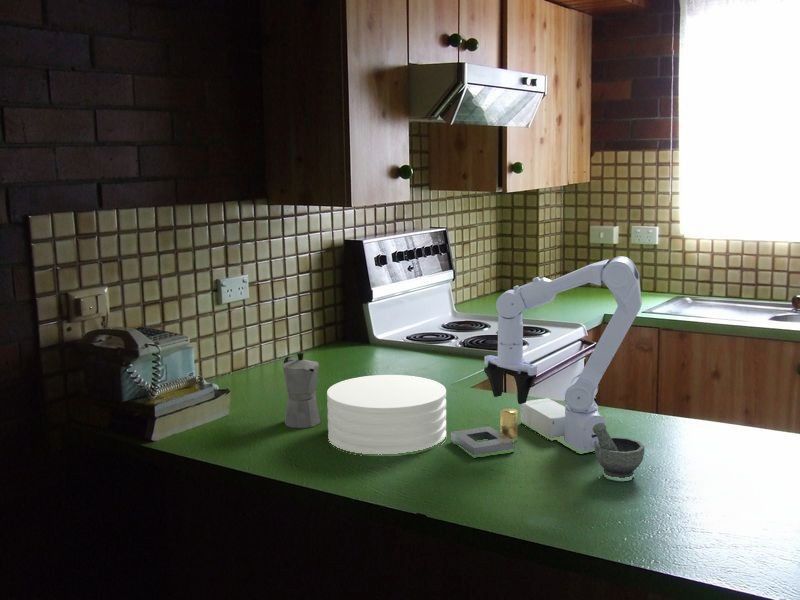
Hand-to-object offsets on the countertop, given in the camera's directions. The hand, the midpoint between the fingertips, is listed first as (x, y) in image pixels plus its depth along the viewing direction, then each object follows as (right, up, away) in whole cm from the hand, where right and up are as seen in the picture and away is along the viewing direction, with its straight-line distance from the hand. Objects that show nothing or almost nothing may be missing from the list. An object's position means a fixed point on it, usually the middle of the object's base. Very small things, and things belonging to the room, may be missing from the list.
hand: (509, 399), depth 201 cm
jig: (-7, -10, -4) cm, 13 cm away
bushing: (0, -10, +1) cm, 10 cm away
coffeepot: (-50, -8, +16) cm, 54 cm away
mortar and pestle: (+19, -14, -22) cm, 32 cm away
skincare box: (+8, -4, +13) cm, 16 cm away
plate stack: (-29, -10, +5) cm, 30 cm away
